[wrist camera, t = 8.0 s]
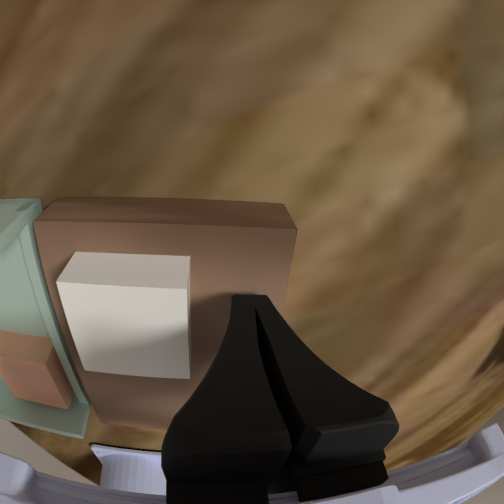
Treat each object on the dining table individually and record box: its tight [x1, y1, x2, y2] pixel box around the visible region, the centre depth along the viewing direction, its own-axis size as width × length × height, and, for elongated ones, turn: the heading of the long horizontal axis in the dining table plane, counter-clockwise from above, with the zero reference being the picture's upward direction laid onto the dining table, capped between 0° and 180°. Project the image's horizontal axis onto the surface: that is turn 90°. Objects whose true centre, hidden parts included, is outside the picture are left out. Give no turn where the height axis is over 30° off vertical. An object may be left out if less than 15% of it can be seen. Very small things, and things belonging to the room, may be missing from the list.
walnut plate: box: [33, 197, 298, 430], centre depth 15 cm, size 14×10×2 cm
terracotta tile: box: [0, 330, 74, 410], centre depth 15 cm, size 4×4×2 cm
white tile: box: [56, 252, 191, 379], centre depth 11 cm, size 4×4×2 cm
